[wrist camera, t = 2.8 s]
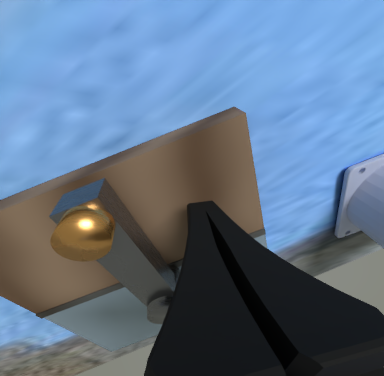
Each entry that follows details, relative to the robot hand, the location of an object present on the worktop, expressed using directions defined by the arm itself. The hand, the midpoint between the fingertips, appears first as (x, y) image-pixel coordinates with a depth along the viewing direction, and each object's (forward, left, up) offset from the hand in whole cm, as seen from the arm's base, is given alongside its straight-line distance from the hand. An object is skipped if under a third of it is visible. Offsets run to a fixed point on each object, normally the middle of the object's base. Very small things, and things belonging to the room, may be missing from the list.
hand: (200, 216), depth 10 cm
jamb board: (+5, +1, -3) cm, 6 cm away
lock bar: (+4, +1, -1) cm, 4 cm away
